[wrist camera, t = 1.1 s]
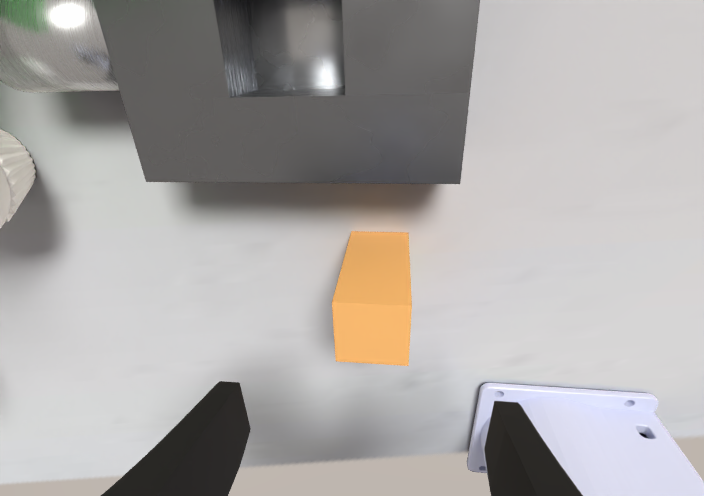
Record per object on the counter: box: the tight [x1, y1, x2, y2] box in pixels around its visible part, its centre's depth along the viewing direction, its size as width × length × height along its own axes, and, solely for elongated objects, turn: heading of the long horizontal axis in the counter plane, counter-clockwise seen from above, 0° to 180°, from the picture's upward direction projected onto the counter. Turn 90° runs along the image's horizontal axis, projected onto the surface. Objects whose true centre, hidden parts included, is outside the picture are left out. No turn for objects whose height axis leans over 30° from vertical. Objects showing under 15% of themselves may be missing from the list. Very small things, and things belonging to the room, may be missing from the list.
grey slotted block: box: [0, 0, 480, 184], centre depth 13 cm, size 17×11×4 cm, turn 92°
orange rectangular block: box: [332, 231, 412, 366], centre depth 16 cm, size 3×3×6 cm
